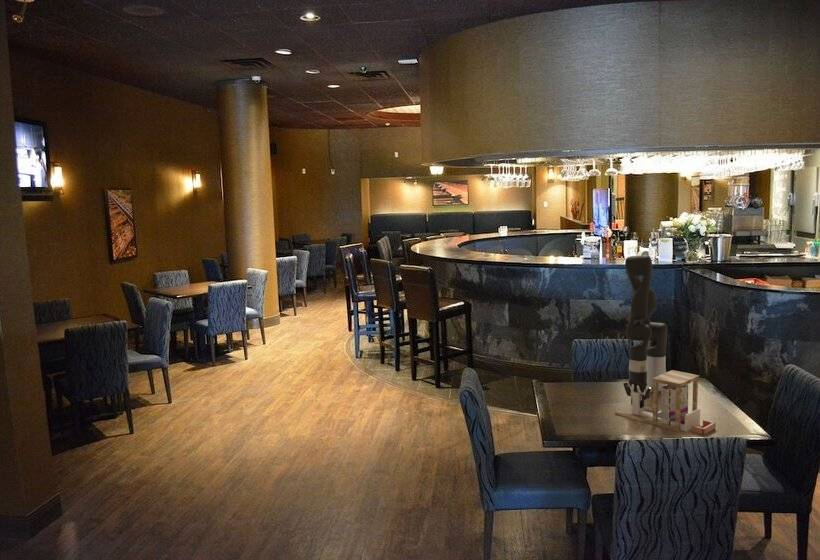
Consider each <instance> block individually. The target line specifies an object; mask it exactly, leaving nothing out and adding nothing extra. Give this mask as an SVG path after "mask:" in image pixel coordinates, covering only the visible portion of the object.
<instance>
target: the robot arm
mask: <svg viewBox="0 0 820 560" xmlns="http://www.w3.org/2000/svg"><path fill="white" fill-rule="evenodd" d="M624 264H625V265H624V266H625V271H626V274H627V277H628V279H629V282H630V285H631V288H632V292H633V296H632V298H631V301H630V317H629V322H628V323H627V324H628V325H627V327H626V330H625V337H626V338H627V340H629V341H637V342H638V341H641V343H639V344H634V345H631V346H630V347H629V363H628V379H629V380H628V381H625V382H623V383H622V384H623V389H624V391H625V393H626V396H627V397H630V404H631V406H632V392H634V391H637V392H638V393H639V395H640V408H643V407H644V406H645V401H646V400H649V398H650V396H651V394H652V393H653V383H654V382H652V380H653V378H654V377H656V376H659V375H661V374H664V373H666V372H667V368H666V363H667V362H666V358H667V357H666V356H667V355H666V354H667V343H668V342H667V340H668V325H667V324H666V323H663V322H653V321H651V319H650V318H651V316H652V315H653V313H654V312H655V311H656V309H657V305H658V301H657V297H656V293H655V291H654V289H652V288H651V283H652V282H651V281H652V273H653V261H652V258H651V256H650V255H648V254H643V255H642V254H641V255H632V256H628V257H626V259H625V262H624ZM640 277H642V279H641V278H640ZM638 322H640V324H637V323H638ZM650 342H655V343H656V342H657V345H654V346H650V347H649V343H650ZM663 386H667V385H666V384H661V383H658V393H661V387H663ZM641 392H642V393H641Z"/></svg>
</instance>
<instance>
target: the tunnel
mask: <svg viewBox="0 0 820 560" xmlns="http://www.w3.org/2000/svg"><path fill="white" fill-rule="evenodd" d="M699 380H700V375H697V374H694V373H689V372H683V371H678V370H673V369H671V370H669V371H666V373H664V374H661V375H659V376H656V377H654V378H653V380H652V382H654V383H653V391H652V393H653V394H652V398H653V399H652V407H651V406H646V405H644V411H646V410H647V411H648V412H649V411H650V412H652V413H653V420H649V418H646V417H643V416H639V415H635V414H632V413H630V414H629V413H627V412H623V411H619V410H615V411H614V415H618V416H621V417H625V418H629V419H632V420H635V419H636V420H637V421H639V420H640V421H639V422H643V421H644V423H646V422H647V424H650V425H653V426H658V427H661V428H664V429H665V428H666V429H668V430H672V431H675V432H681V430H680V410H681V387H682V386H684V385H689V384H692V407H691V409H692V410H691V411H693V410H695V409H697V408H698V394H699V392H698V391H699V390H698V389H699ZM658 383H661V384H666V386H667V385H670V386H675V387H676V411H675V426H671V425H668V424H664V423H660V422H658V411H661V409H659V392H658Z"/></svg>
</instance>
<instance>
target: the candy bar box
mask: <svg viewBox="0 0 820 560" xmlns="http://www.w3.org/2000/svg"><path fill="white" fill-rule="evenodd" d="M660 395H661V396H660V398H661V399H660V400H661V402H660V403H661V404H660V406H661V407H660V410H661V417H660V418H661V419H664V420H666V421H667V424H668V425H670V422H671V421H673V422H675V411H676V387H675V386H670V385H666V386H663V387H661V392H660ZM687 413H689V384H687V385H684V386H682V387H681V410H680V423H681V424H685V414H687Z"/></svg>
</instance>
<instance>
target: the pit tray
mask: <svg viewBox="0 0 820 560" xmlns="http://www.w3.org/2000/svg"><path fill="white" fill-rule="evenodd" d="M716 427H717V426H716V421H715V422H713V421H711V420H707V419H702V424H700V425H698V426H692V429H691V433H692V434H694V435H695V434H696V435H699V436H702V437H705V436H706V435H709V434H710V433H711V432H713V431H714V430H715V431H716Z"/></svg>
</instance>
